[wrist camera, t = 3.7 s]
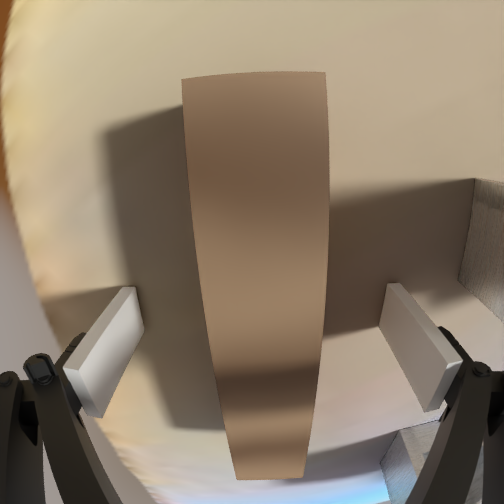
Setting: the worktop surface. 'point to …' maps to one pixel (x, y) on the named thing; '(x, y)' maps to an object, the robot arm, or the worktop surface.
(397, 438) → the bracket
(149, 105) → the worktop surface
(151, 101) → the worktop surface
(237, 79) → the rail
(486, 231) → the bracket
